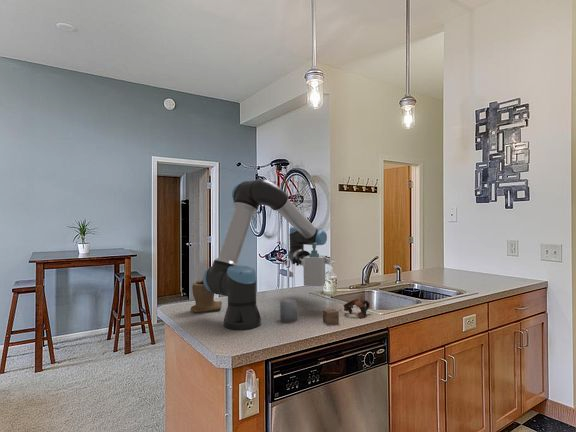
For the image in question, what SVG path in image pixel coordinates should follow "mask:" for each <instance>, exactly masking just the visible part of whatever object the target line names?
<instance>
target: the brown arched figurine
mask: <svg viewBox="0 0 576 432" xmlns="http://www.w3.org/2000/svg"><path fill="white" fill-rule="evenodd" d="M354 306H355V307H357V308H359V310H360V311H359V312H358V313H357V316H358V317H359V319H362V318H364V317H367V316H368V315H367V311H368V310H369V309H370V302H369V300H365V299H363V300H362V301H360V300H359V298H354V299H353V300H350V301H348V302H346V303H345V304H343V312H345V311H346V312H348V313H349V314H351V313H353V308H354Z"/></svg>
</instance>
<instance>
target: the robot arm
mask: <svg viewBox="0 0 576 432" xmlns="http://www.w3.org/2000/svg"><path fill="white" fill-rule="evenodd" d="M231 193H232V194H231V197H232V201H233V203H232V204H233V207H234V212H233V214H232V217H231V220H230V223H229V226H228V229H227V232H226V235H225V238H224V241H223V244H222V246H221V250H220V252H219V255H218V257H217V258H215V259H214V260H213V263H212V266H209V267H208V268H207V269H206V270H205V271H204V273H203V277H202V280H203V282H204V285H205V287H206V289H207V290H208V291H210V292H212V293H214V295H221V296H225V297H227V308H226V311H225V315H224V317H223V327H224V328H225V329H228V330H235V331H237V330H250V329H251V330H252V329H255V328H257V327H259V326H261V325H262V318H261V315H260V311H259V308H258V305H257V276H256V275H257V274H256V273H257V272H256V270H255V269H254V268H253V267H251V266H247V265H241V264H240V265H239V264H238V262H239V258H240V255H241V252H242V250H243V246H244V243H245V241H246V237H247V233H248V231H249V227H250V224H251V222H252V218H253V215H254V214H256V213H257V212H258V210H259V207H260V206H267V207H269V208H270V209H272V210H273V211H277V213H279V214H280V216H282V217H283V218H284V219H285V220H286V221H287V222H288V223H289V224H290V225H291V226H290V228H289V234H288V236H289V251H288V252H287V258H288V259H289V260H290V262H291V264H292V265H295V266H302V267H303V266H305V260H303V257H305V256H307V255H310V253H311V252H309V251H307V250H305V247H304V246H307V245H308V246H312V243H317V245H316V247H318V246H324V245H325V244H326V243H327V241H328V235H327V233H326V231H325V230H320V229H317V228H316V227H315V226H314V224H313V223H312V222H311V221H310V220H309V219H308V218H307V217H306V216H305V215H304V214H303V213H302V212H301V211H300V210H299V209H298V208H297V206H296V205H295V204H294V203H292V202H291V200H290V198H289V195H288V194H287V193H286V192H285V191H284V190H283V189H282V188H281V187H280V186H278V185H277V184H276V183H274V182H272V181H271V180H269V179H268V180H267V179H261V178H260V179H256V180H255V179H254V180H245V181H242V182H239V183H237V184H236V185H234V188H233V190H232V191H231ZM324 256H325V265H329V266H330V265H331V264H332V263H331V262H332V261H331V259H332V258H331V257H330V256H328V255H324Z"/></svg>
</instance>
